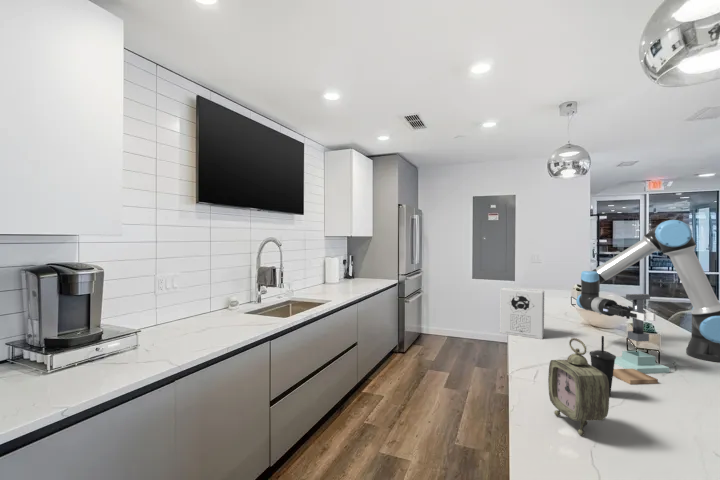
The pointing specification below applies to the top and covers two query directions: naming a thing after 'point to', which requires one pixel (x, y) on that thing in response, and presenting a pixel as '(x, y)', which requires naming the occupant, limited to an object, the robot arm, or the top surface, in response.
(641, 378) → the walnut pad
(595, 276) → the robot arm
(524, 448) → the top surface
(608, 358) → the drinking cup
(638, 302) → the t key
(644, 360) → the square socket base
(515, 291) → the cereal box
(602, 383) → the tabletop clock
